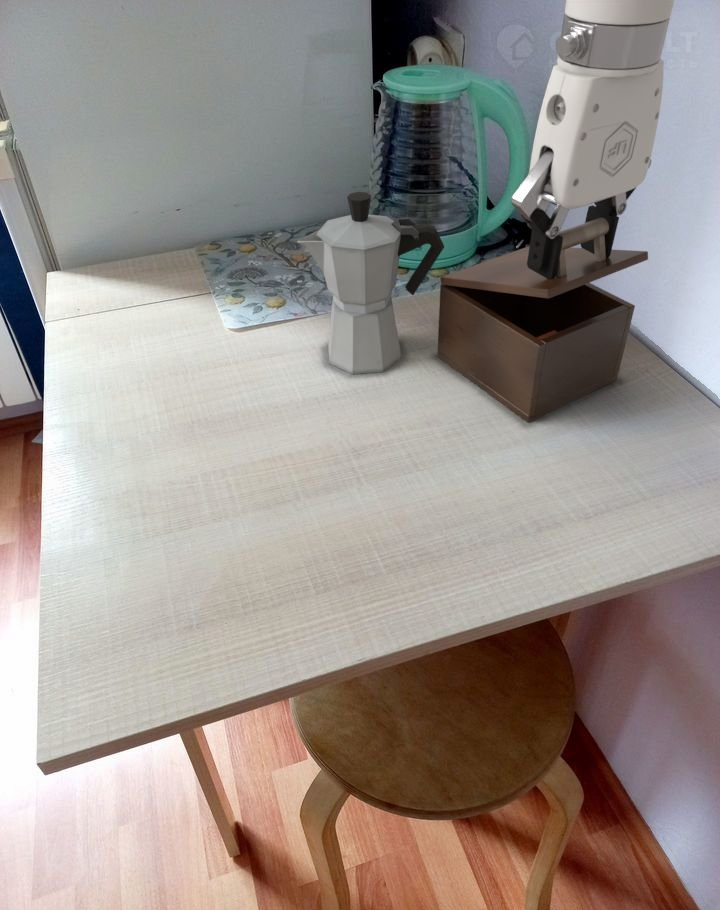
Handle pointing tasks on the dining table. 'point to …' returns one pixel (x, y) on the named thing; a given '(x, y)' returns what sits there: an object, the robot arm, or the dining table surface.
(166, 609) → the dining table surface
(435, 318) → the dining table surface
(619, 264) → the lid
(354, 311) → the coffee maker
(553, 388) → the wooden trinket chest
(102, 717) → the dining table surface
